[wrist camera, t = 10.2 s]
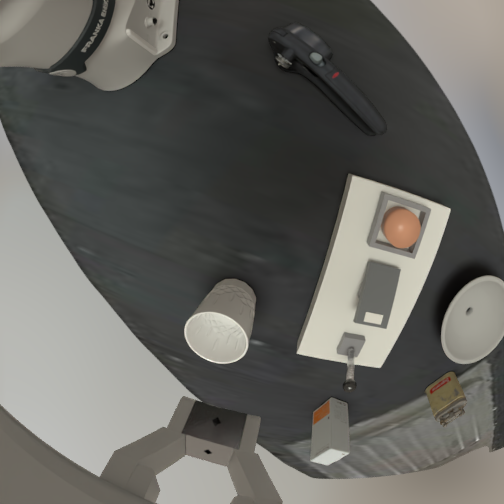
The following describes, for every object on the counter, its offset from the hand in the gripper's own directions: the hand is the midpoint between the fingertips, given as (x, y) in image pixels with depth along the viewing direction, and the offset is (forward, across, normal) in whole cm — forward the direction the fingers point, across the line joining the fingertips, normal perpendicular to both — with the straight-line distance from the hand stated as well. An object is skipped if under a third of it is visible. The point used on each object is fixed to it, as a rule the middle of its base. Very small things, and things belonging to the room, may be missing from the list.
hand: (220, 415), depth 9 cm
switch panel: (+29, -14, +5) cm, 33 cm away
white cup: (+29, +4, +13) cm, 32 cm away
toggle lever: (+25, -14, +14) cm, 32 cm away
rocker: (+24, -14, +5) cm, 29 cm away
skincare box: (+29, -18, +33) cm, 48 cm away
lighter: (+29, -39, +23) cm, 54 cm away
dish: (+29, -34, +6) cm, 45 cm away
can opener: (+30, -2, -19) cm, 35 cm away
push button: (+26, -14, -4) cm, 30 cm away
